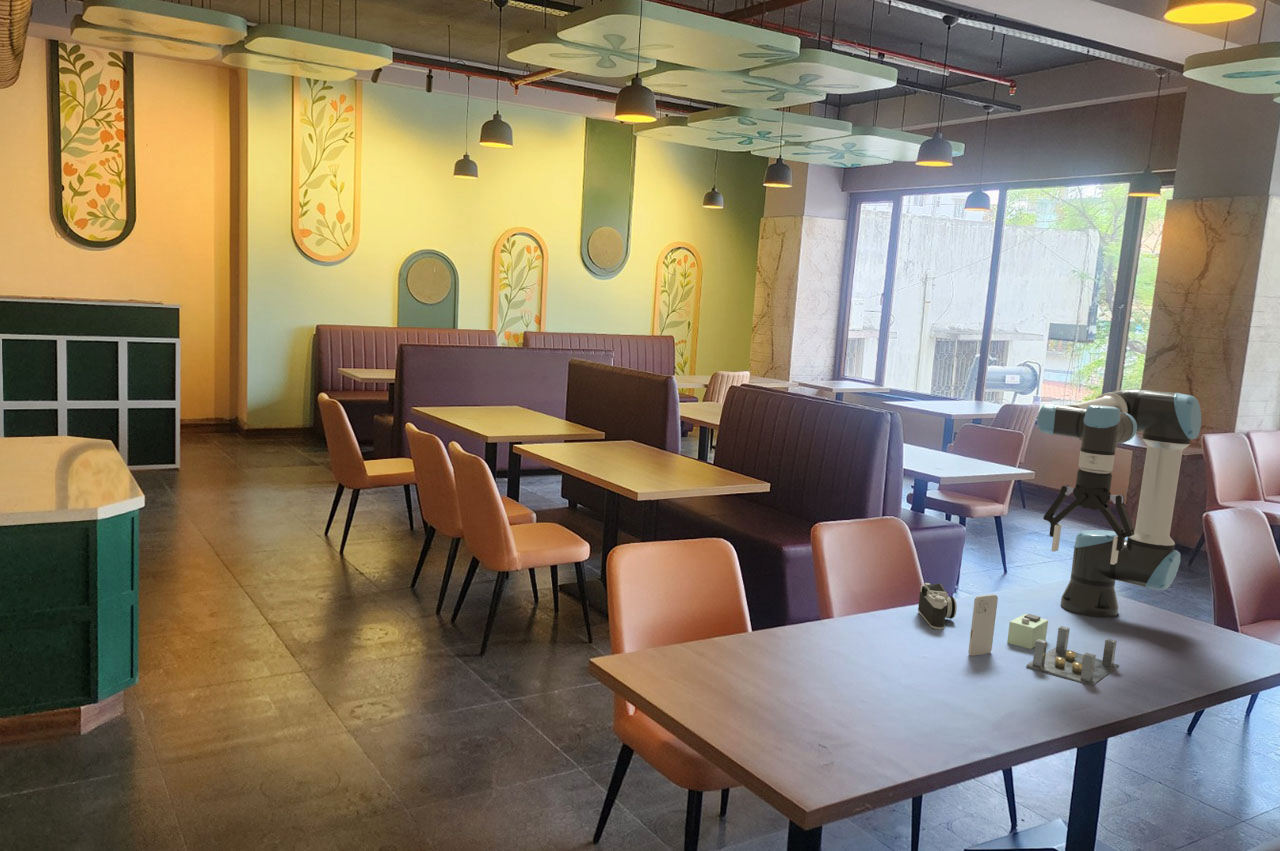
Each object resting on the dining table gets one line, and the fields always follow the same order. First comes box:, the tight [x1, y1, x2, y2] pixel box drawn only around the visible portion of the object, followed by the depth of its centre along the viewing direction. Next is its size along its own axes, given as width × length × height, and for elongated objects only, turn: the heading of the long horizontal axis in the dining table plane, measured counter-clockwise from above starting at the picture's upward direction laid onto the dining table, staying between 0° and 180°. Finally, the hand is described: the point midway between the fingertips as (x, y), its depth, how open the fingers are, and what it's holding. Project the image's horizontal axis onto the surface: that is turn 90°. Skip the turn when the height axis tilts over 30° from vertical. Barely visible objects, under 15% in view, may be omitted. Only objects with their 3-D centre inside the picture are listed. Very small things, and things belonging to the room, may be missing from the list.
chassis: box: [1026, 625, 1120, 687], centre depth 234 cm, size 19×15×7 cm
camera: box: [917, 582, 957, 630], centre depth 265 cm, size 16×9×10 cm, turn 179°
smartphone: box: [968, 593, 999, 657], centre depth 239 cm, size 7×1×15 cm, turn 118°
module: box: [1006, 613, 1049, 650], centre depth 251 cm, size 10×6×7 cm, turn 137°
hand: (1083, 557), depth 236 cm, fingers open, 13 cm apart
